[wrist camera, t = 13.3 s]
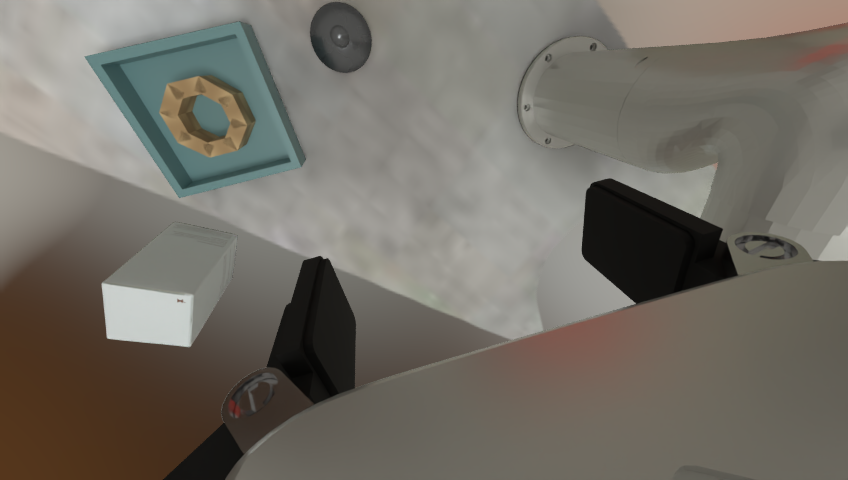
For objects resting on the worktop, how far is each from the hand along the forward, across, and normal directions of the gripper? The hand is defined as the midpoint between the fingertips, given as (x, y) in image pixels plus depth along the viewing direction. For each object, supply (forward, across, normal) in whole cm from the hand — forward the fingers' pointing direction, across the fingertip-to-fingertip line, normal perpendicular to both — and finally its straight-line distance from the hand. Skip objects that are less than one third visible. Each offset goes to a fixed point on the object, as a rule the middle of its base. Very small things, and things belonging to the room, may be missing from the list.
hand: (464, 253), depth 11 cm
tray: (+30, +18, -5) cm, 36 cm away
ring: (+30, +18, -5) cm, 35 cm away
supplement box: (+31, +28, +10) cm, 43 cm away
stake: (+30, +3, -9) cm, 32 cm away
